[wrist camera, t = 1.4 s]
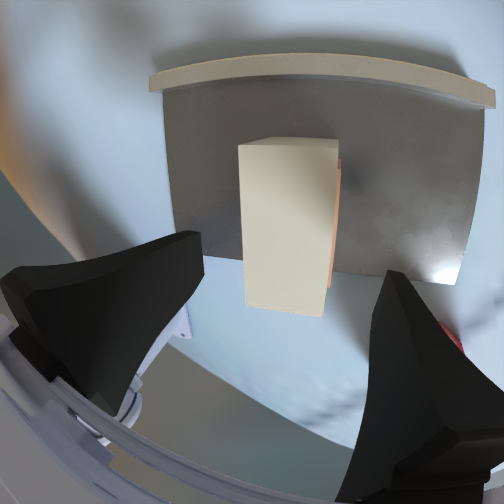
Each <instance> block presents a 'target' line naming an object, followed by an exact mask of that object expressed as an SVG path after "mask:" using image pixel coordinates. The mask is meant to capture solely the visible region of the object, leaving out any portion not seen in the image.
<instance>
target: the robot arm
mask: <svg viewBox="0 0 504 504" xmlns="http://www.w3.org/2000/svg"><path fill="white" fill-rule="evenodd" d="M203 277H204V264H203V253H202V240H201V232H196V231H191V230H186V231H181V232H177V233H174V234H171V235H168V236H165V237H162V238H159V239H156V240H153V241H150V242H148V243H145V244H142V245H139V246H136V247H133V248H130V249H127V250H124V251H121V252H118V253H114V254H111V255H107V256H103V257H99V258H95V259H90V260H85V261H79V262H74V263H68V264H60V265H50V266H19V267H17V268H14V269H13V270H12V271H10V272H9V273H8V274H6V275H5V276H4V277H3V278H1V279H0V287H1V290H2V293H3V295H4V297H5V299H6V301H7V303H8V305H9V307H10V309H11V311H12V313H13V315H14V316H15V318H16V320H17V322H18V323H19V326H18V327H17V328H16V329H15V328H14V326H13V325H12V323H11V322H10V321H9V320H8V319H7V318H6V317H5V315H4V314H1V315H0V504H172V503H170V502H168V501H166V500H164V499H162V498H160V497H159V496H157V495H155V494H153V493H151V492H149V491H148V490H146V489H144V488H142V487H140V486H139V485H137V484H136V483H134V482H133V481H131V480H129V479H128V478H126V477H125V476H123V475H122V474H120V473H119V472H117V471H116V470H114V469H113V468H111V467H110V466H109V463H110V462H111V460H112V459H113V458H114V453H113V452H111V451H110V450H109V449H107V448H106V447H105V446H106V445H107V444H109V443H110V442H112V443H113V444H115V445H116V446H118V447H119V448H121V449H122V450H124V451H126V452H127V453H129V454H130V455H132V456H133V457H135V458H137V459H138V460H140V461H142V462H143V463H145V464H147V465H148V466H150V467H152V468H154V469H156V470H158V471H159V472H161V473H163V474H165V475H167V476H169V477H171V478H173V479H175V480H177V481H179V482H181V483H183V484H185V485H187V486H190V487H192V488H194V489H196V490H199V491H201V492H203V493H206V494H208V495H211V496H213V497H216V498H218V499H221V500H224V501H226V502H229V503H232V504H504V485H503V486H499V487H496V488H493V489H489V490H487V491H484V492H483V489H484V483H487V482H488V481H489V480H490V473H491V469H493V468H494V467H496V466H498V465H499V464H501V463H502V462H504V392H503V391H502V390H501V389H500V388H499V387H498V386H497V385H495V384H494V383H493V382H492V381H491V380H490V379H489V378H487V377H486V376H485V375H484V374H483V373H482V372H481V371H480V370H479V369H478V368H477V367H476V366H475V365H474V364H473V363H472V362H471V361H470V360H469V359H468V358H467V357H466V356H465V354H464V353H463V352H462V351H461V350H460V349H459V348H458V346H457V345H456V344H455V343H454V342H453V341H452V339H451V338H450V337H449V336H448V335H447V333H446V332H445V331H444V330H443V328H442V327H441V325H440V324H439V323H438V321H437V320H436V319H435V317H434V316H433V315H432V313H431V312H430V310H429V309H428V308H427V306H426V305H425V303H424V302H423V300H422V299H421V297H420V296H419V294H418V293H417V291H416V290H415V288H414V287H413V285H412V284H411V283H410V281H409V280H408V278H407V277H406V276H405V274H404V273H402V272H397V271H393V270H387V273H386V276H385V279H384V282H383V285H382V288H381V291H380V294H379V297H378V300H377V303H376V305H375V308H374V311H373V314H372V322H371V330H370V344H369V375H368V390H367V398H366V404H365V409H364V414H363V418H362V423H361V427H360V431H359V434H358V438H357V442H356V445H355V449H354V452H353V455H352V458H351V461H350V464H349V467H348V470H347V473H346V475H345V478H344V480H343V483H342V485H341V488H340V490H339V493H338V495H337V497H336V499H335V502H330V501H323V500H317V499H311V498H306V497H301V496H296V495H291V494H287V493H283V492H279V491H275V490H271V489H267V488H264V487H260V486H257V485H254V484H250V483H247V482H244V481H241V480H238V479H235V478H232V477H229V476H227V475H224V474H221V473H219V472H216V471H214V470H211V469H209V468H206V467H204V466H201V465H199V464H197V463H195V462H192V461H190V460H188V459H186V458H183V457H181V456H179V455H177V454H175V453H173V452H171V451H169V450H167V449H165V448H163V447H161V446H160V445H158V444H156V443H154V442H152V441H150V440H149V439H147V438H145V437H143V436H142V435H140V434H138V433H136V432H135V431H133V430H131V429H130V428H131V426H132V425H133V424H134V422H135V421H136V419H137V418H138V416H139V413H140V410H141V406H142V404H141V402H142V396H141V395H140V393H139V392H138V390H139V388H140V387H141V386H142V384H143V383H142V382H141V381H140V379H139V378H140V376H141V375H142V374H143V373H144V371H145V370H146V369H147V367H148V366H149V365H150V363H151V362H152V361H153V359H154V358H155V357H156V355H157V354H158V353H159V352H160V350H161V349H162V348H163V346H164V345H165V344H166V342H167V341H168V340H169V338H170V337H171V336H172V335H175V336H178V337H182V338H185V339H191V337H192V332H191V327H190V323H189V318H188V313H187V309H186V304H185V303H186V302H187V301H188V299H189V298H190V297H191V296H192V294H193V293H194V292H195V290H196V288H197V287H198V285H199V283H200V282H201V280H202V278H203Z"/></svg>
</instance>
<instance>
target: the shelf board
mask: <svg viewBox="0 0 504 504" xmlns="http://www.w3.org/2000/svg"><path fill="white" fill-rule="evenodd" d="M149 92H157V93H163V108H164V124H165V138H166V151H167V162H168V172H169V181H170V190H171V198H172V206H173V214H174V221H175V229H176V233H177V232H181V231H186V230H191V231H196V232H201V240H202V253H203V255H205V256H213V257H221V258H228V259H236V260H243V245H242V225H241V203H240V181H239V157H238V145H241V144H245V143H249V142H253V141H257V140H261V139H266V138H270V137H305V138H323V139H337V140H338V159H341V180H340V196H339V210H338V222H337V233H336V242H335V252H334V260H333V268H332V271H335V272H344V273H352V274H361V275H370V276H379V277H385V276H386V273H387V270H393V271H397V272H402V273H404V274H405V276H406V277H407V278H408V280H415V281H424V282H433V283H443V284H452V285H454V284H455V281H456V278H457V275H458V272H459V269H460V266H461V262H462V259H463V256H464V252H465V249H466V245H467V241H468V237H469V233H470V229H471V225H472V220H473V216H474V211H475V206H476V200H477V194H478V188H479V181H480V174H481V166H482V155H483V142H484V109H496V98H495V90H494V89H491V88H489V87H487V85H486V84H483V83H481V82H478V81H475V80H472V79H469V78H466V77H463V76H460V75H457V74H453V73H450V72H446V71H443V70H439V69H435V68H431V67H427V66H423V65H418V64H413V63H408V62H403V61H397V60H391V59H385V58H377V57H369V56H360V55H349V54H333V53H278V54H262V55H250V56H241V57H233V58H225V59H218V60H212V61H206V62H201V63H195V64H190V65H186V66H181V67H177V68H172V69H168V70H164V71H160V72H157V74H156V75H152V76H149Z"/></svg>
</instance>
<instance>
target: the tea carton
mask: <svg viewBox="0 0 504 504" xmlns="http://www.w3.org/2000/svg"><path fill="white" fill-rule="evenodd" d="M238 157H239V181H240V203H241V225H242V245H243V265H244V284H245V303H246V306H250V307H256V308H262V309H268V310H274V311H281V312H288V313H294V314H301V315H308V316H316V317H323V311H324V304H325V298H326V291H327V288H330V284H331V276H332V268H333V260H334V252H335V242H336V233H337V222H338V210H339V196H340V180H341V159H338V140H337V139H323V138H305V137H270V138H266V139H261V140H257V141H253V142H249V143H245V144H241V145H238Z"/></svg>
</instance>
